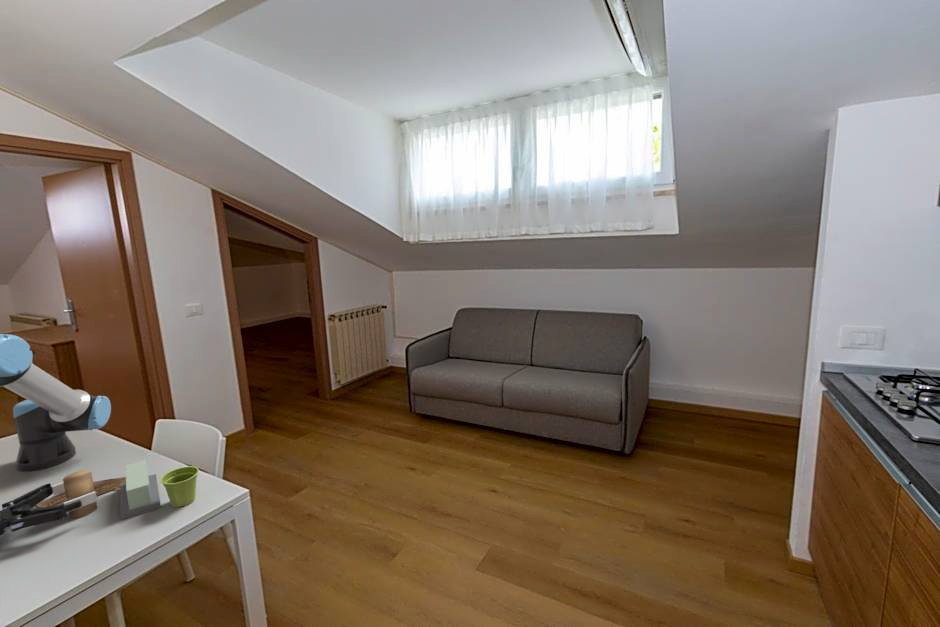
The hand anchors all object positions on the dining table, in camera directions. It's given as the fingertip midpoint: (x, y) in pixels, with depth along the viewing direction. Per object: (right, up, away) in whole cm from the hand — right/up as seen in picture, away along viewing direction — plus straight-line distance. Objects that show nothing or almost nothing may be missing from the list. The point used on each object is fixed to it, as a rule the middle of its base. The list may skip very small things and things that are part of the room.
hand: (89, 487), depth 123 cm
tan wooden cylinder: (-1, -7, -1) cm, 7 cm away
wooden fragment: (-8, -5, +10) cm, 14 cm away
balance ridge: (+10, -5, +6) cm, 13 cm away
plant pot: (+25, -6, +4) cm, 26 cm away
